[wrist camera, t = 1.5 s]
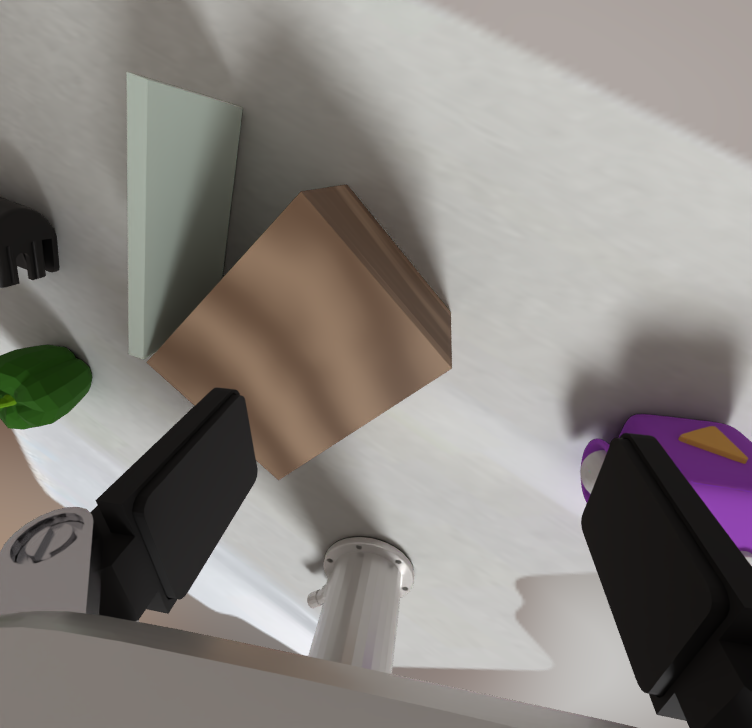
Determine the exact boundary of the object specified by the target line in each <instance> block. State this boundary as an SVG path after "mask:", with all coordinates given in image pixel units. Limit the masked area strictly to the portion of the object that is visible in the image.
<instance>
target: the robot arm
mask: <svg viewBox="0 0 752 728" xmlns="http://www.w3.org/2000/svg"><path fill="white" fill-rule="evenodd" d="M256 478H257V464H256V458H255V452H254V447H253V441H252V435H251V430H250V424H249V418H248V412H247V407H246V401H245V398H244V396H242V395H240V393H239V392H238V390H236V389H227V388H218V387H217V388H214V389H212V390H211V391H210V392H209V393H208V394H207V395H206V396H205V397H204V398H203V399H202V400H200V401H199V402H198V403H197V404H196V405H195V406H194V407H193V408H192V409H191V410H190V411H189V412H188V413H187V414H186V415H185V416H184V417H183V418H182V419H181V420H179V421H178V422H177V423H176V424H175V425H174V426H173V427H172V428H171V429H170V430H169V431H168V432H167V433H166V434H165V435H164V436H163V437H162V438H161V439H160V440H159V441H157V442H156V443H155V444H154V445H153V446H152V447H151V448H150V449H149V450H148V451H147V452H146V453H145V454H144V455H143V456H142V457H141V458H140V459H139V460H138V461H136V462H135V463H134V464H133V465H132V466H131V467H130V468H129V469H128V470H127V471H126V472H125V473H124V474H123V475H122V476H121V477H120V478H119V479H118V480H117V481H116V482H114V483H113V484H112V485H111V486H110V487H109V488H108V489H107V490H106V491H105V492H104V493H103V494H102V495H101V496H100V497H99V498H98V499H97V500H96V502H97V504H98V506H97V507H96V508H95V509H94V510H93V511H91V512H89V511H88V510H87V509H83V508H80V507H66V508H62V509H58V510H54V511H51V512H49V513H46V514H44V515H41V516H39V517H37V518H36V519H34V520H32V521H30V522H29V523H27V524H25V525H24V526H23V527H22V528H20V529H19V530H18V531H16V532H15V533H14V534H13V535H12V536H11V537H10V538H9V539H8V541H7V542H6V543H5V544H4V546H3V548H2V550H1V552H0V728H636V727H633V726H628V725H624V724H620V723H616V722H611V721H607V720H602V719H597V718H593V717H588V716H584V715H579V714H575V713H570V712H565V711H561V710H556V709H551V708H547V707H542V706H537V705H533V704H528V703H524V702H520V701H515V700H510V699H506V698H501V697H497V696H492V695H487V694H483V693H478V692H474V691H468V690H464V689H459V688H455V687H450V686H446V685H441V684H436V683H431V682H427V681H422V680H418V679H413V678H408V677H403V676H399V675H394V674H392V666H393V657H394V648H395V639H396V630H397V621H398V612H399V604H400V598H403V597H404V596H405V595H407V594H408V593H409V592H410V590H411V589H412V586H413V584H414V569H413V566H412V564H411V562H410V561H409V559H408V558H407V557H406V556H405V555H404V554H403V553H402V552H401V551H399V550H398V549H397V548H395V547H394V546H392V545H390V544H388V543H385V542H383V541H380V540H377V539H372V538H366V537H352V538H347V539H343V540H340V541H338V542H336V543H335V544H333V545H332V546H331V547H330V548H329V549H328V551H327V553H326V556H325V559H324V571H325V574H326V576H327V578H328V580H327V583H326V584H325V585H324V586H323V587H322V589H321V590H317V591H314V592H312V593H310V594H309V595H308V598H307V602H308V605H309V606H310V607H311V608H315V607H318V606H320V605H323V606H322V610H321V613H320V617H319V620H318V624H317V627H316V631H315V634H314V638H313V641H312V645H311V648H310V652H309V655H308V656H304V655H300V654H295V653H289V652H285V651H280V650H275V649H270V648H265V647H261V646H256V645H251V644H246V643H241V642H237V641H232V640H227V639H222V638H217V637H212V636H208V635H202V634H198V633H193V632H188V631H183V630H178V629H173V628H168V627H162V626H157V625H152V624H146V623H140V622H139V618H140V617H141V615H142V614H143V613H144V611H145V610H146V609H149V610H154V611H158V612H163V613H169V612H170V610H171V608H172V607H173V605H174V604H175V602H176V601H177V599H182V598H183V597H184V596H185V595H186V594H187V592H188V591H189V589H190V588H191V586H192V584H193V583H194V581H195V579H196V578H197V576H198V575H199V573H200V571H201V570H202V568H203V566H204V565H205V563H206V561H207V560H208V558H209V557H210V555H211V553H212V552H213V550H214V548H215V547H216V545H217V543H218V542H219V540H220V539H221V537H222V535H223V534H224V532H225V530H226V529H227V527H228V525H229V524H230V522H231V520H232V519H233V517H234V516H235V514H236V512H237V511H238V509H239V507H240V506H241V504H242V502H243V501H244V499H245V498H246V496H247V494H248V493H249V491H250V489H251V488H252V486H253V484H254V483H255V481H256ZM581 525H582V530H583V534H584V536H585V539H586V542H587V545H588V547H589V550H590V553H591V556H592V559H593V561H594V564H595V567H596V570H597V572H598V575H599V578H600V581H601V583H602V586H603V589H604V592H605V595H606V597H607V600H608V603H609V605H610V608H611V611H612V614H613V616H614V619H615V622H616V625H617V628H618V631H619V633H620V636H621V639H622V642H623V644H624V647H625V650H626V653H627V655H628V658H629V661H630V664H631V666H632V669H633V672H634V675H635V678H636V680H637V683H638V685H639V687H640V688H641V690H642V691H643V692H645V693H649V695H650V698H651V701H652V703H653V706H654V709H655V711H656V714H657V715H661V716H666V717H671V718H676V719H680V720H685V721H687V723H688V725H689V727H690V728H752V566H751V565H750V563H749V562H748V561H747V559H746V558H745V557H744V555H743V554H742V553H741V551H740V550H739V549H738V547H737V546H736V545H735V543H734V542H733V541H732V539H731V538H730V537H729V535H728V534H727V533H726V531H725V530H724V529H723V527H722V526H721V525H720V523H719V522H718V521H717V519H716V518H715V516H714V515H713V514H712V512H711V511H710V510H709V508H708V507H707V506H706V504H705V503H704V502H703V500H702V499H701V498H700V496H699V495H698V494H697V492H696V491H695V490H694V488H693V487H692V486H691V484H690V483H689V482H688V480H687V479H686V478H685V476H684V475H683V474H682V472H681V471H680V470H679V468H678V467H677V466H676V464H675V463H674V462H673V460H672V459H671V458H670V456H669V455H668V454H667V452H666V451H665V450H664V448H663V447H662V446H661V444H660V443H659V442H658V440H657V439H656V438H655V437H653V436H651V435H642V434H633V433H623V434H622V435H621V436H620V438H614V439H613V440H612V441H611V444H610V446H609V449H608V451H607V454H606V456H605V459H604V461H603V464H602V466H601V469H600V471H599V474H598V476H597V479H596V482H595V484H594V487H593V489H592V492H591V494H590V497H589V499H588V502H587V504H586V507H585V509H584V512H583V515H582V520H581Z"/></svg>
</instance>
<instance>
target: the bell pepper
mask: <svg viewBox="0 0 752 728" xmlns="http://www.w3.org/2000/svg"><path fill="white" fill-rule="evenodd" d="M91 382H92V374H91V371H90V368H89V366H88V365H86V364H85V363H84V362H83V361H82V360H79V359H76V357H75V356H74V354H73V353H72V352H71V351H70V350H68V349H67V348H66V347H60V346H54V345H40V346H33V347H28V348H22V349H17V350H14V351H11V352H8V353H6V354H3V355H1V356H0V419H1V420H2V421H3V422H4V423H5V425H6V426H7V427H8V428H12V429H28V428H32V427H39V426H43V425H47V424H51V423H54V422H55V421H57V420H58V419H60V418H61V417H63V416H64V415H66V414H67V413H69V412H70V411H71V410H72V409H73V408H74V407H75V406H76V405H77V404H78V403H79V402H80V401H81V399H82V398H83V397H84V396H85V395H86V394H87V393H88V391H89V389H90V386H91Z"/></svg>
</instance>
